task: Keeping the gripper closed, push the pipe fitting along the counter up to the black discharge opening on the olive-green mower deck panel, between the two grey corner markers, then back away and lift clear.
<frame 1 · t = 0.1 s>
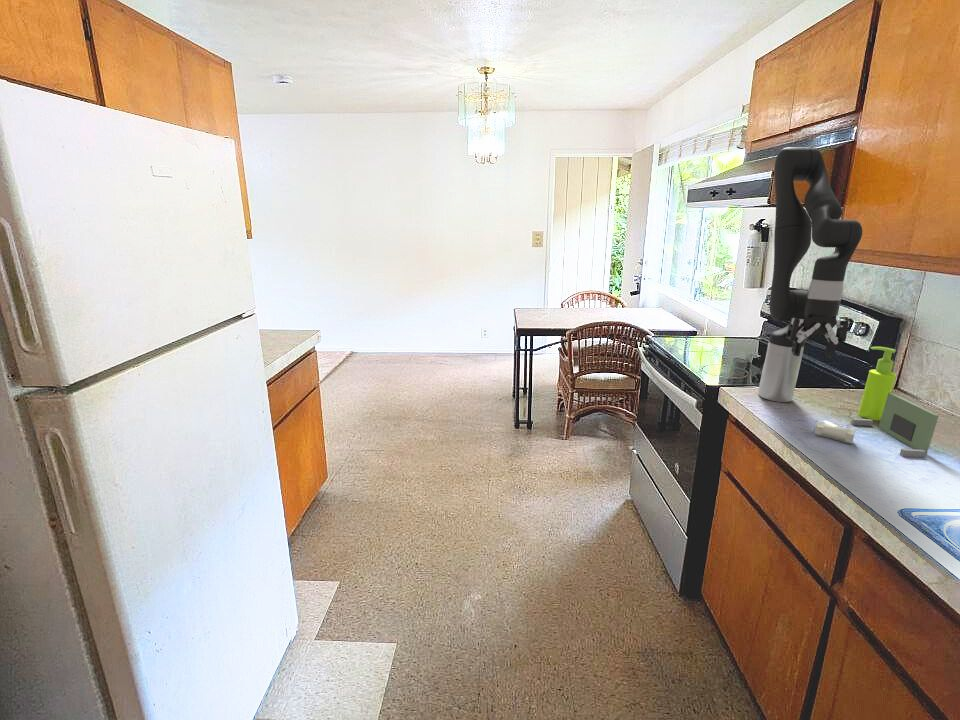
hand: (811, 356, 135), 17 cm above the table, tool pointing down, fingers open, 8 cm apart
mower deck panel: (878, 438, 126), on the table
pipe fitting: (832, 438, 126), on the table
soap dispenser: (868, 416, 141), on the table
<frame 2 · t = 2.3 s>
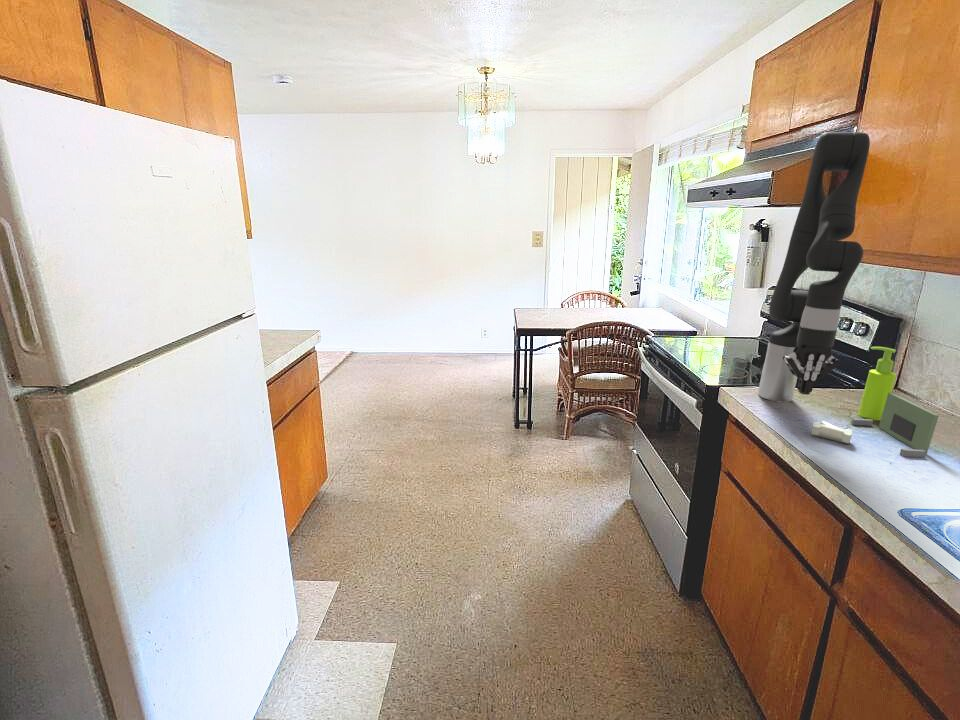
hand: (803, 393, 124), 11 cm above the table, tool pointing down, fingers closed
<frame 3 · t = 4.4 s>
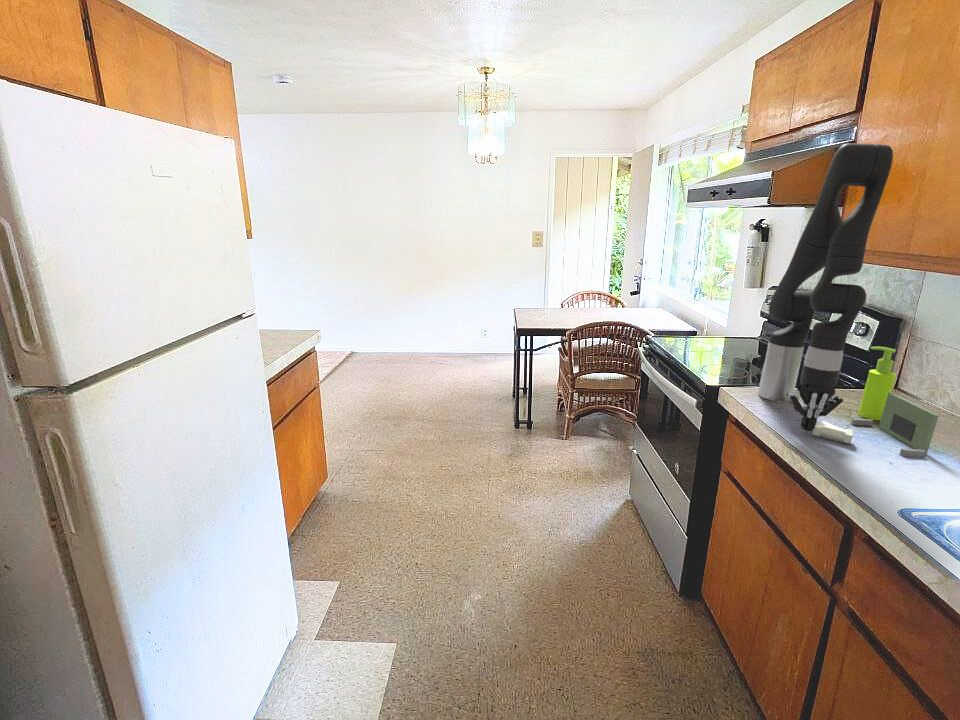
hand: (806, 429, 126), 2 cm above the table, tool pointing down, fingers closed
pipe fitting: (831, 439, 126), on the table, touching gripper
everything else where it was.
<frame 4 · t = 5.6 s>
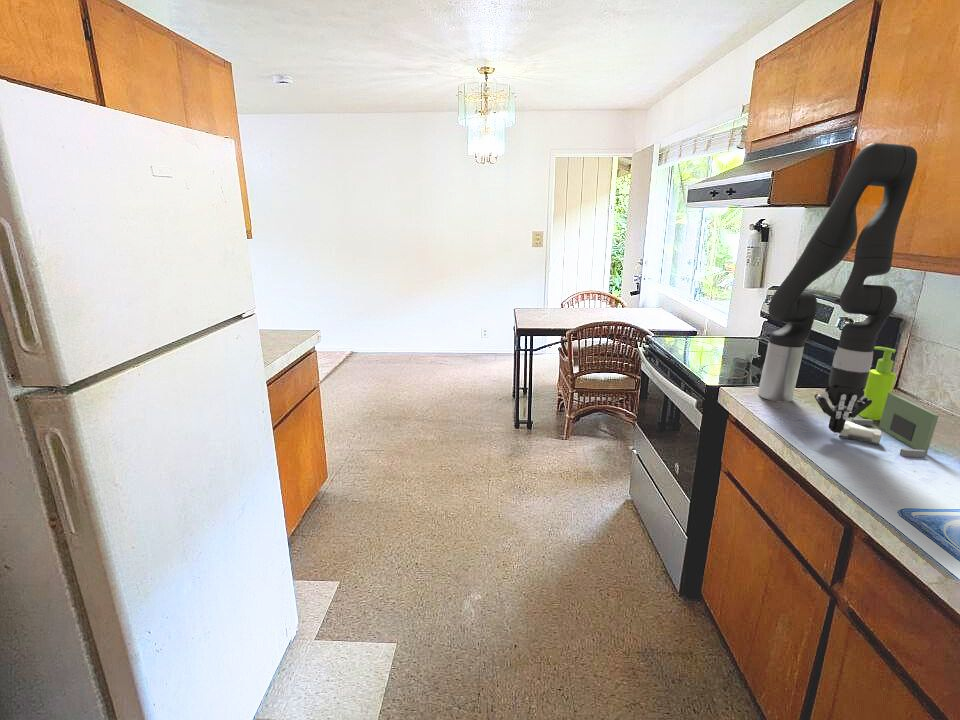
hand: (834, 431, 126), 2 cm above the table, tool pointing down, fingers closed
pipe fitting: (856, 438, 126), on the table, touching gripper
everything else where it was.
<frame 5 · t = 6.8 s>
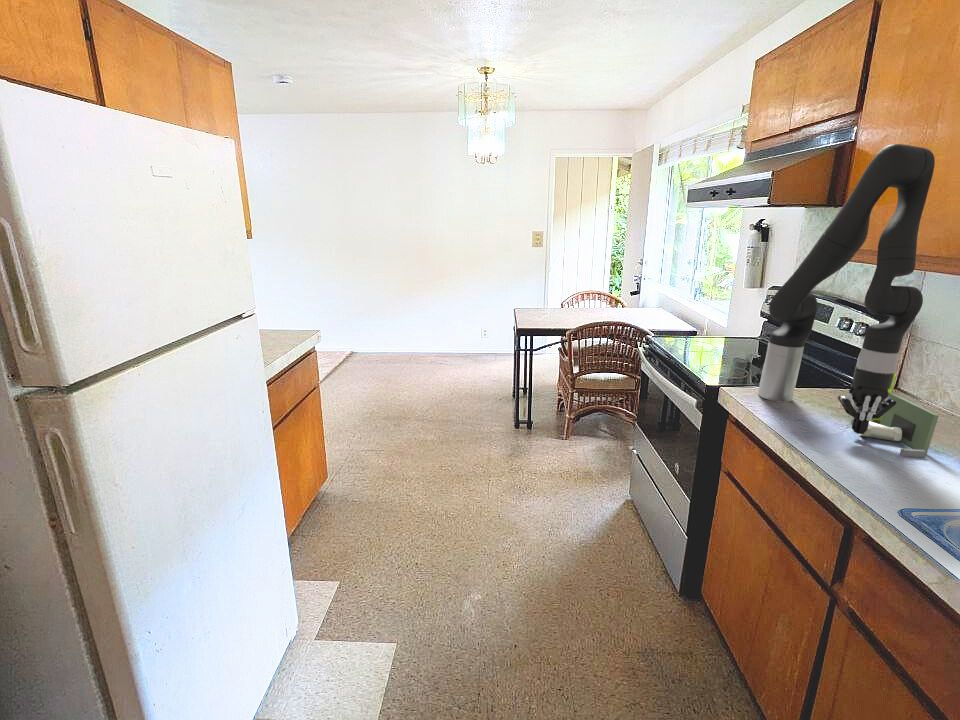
hand: (858, 432, 125), 2 cm above the table, tool pointing down, fingers closed
pipe fitting: (875, 437, 128), on the table
everything else where it was.
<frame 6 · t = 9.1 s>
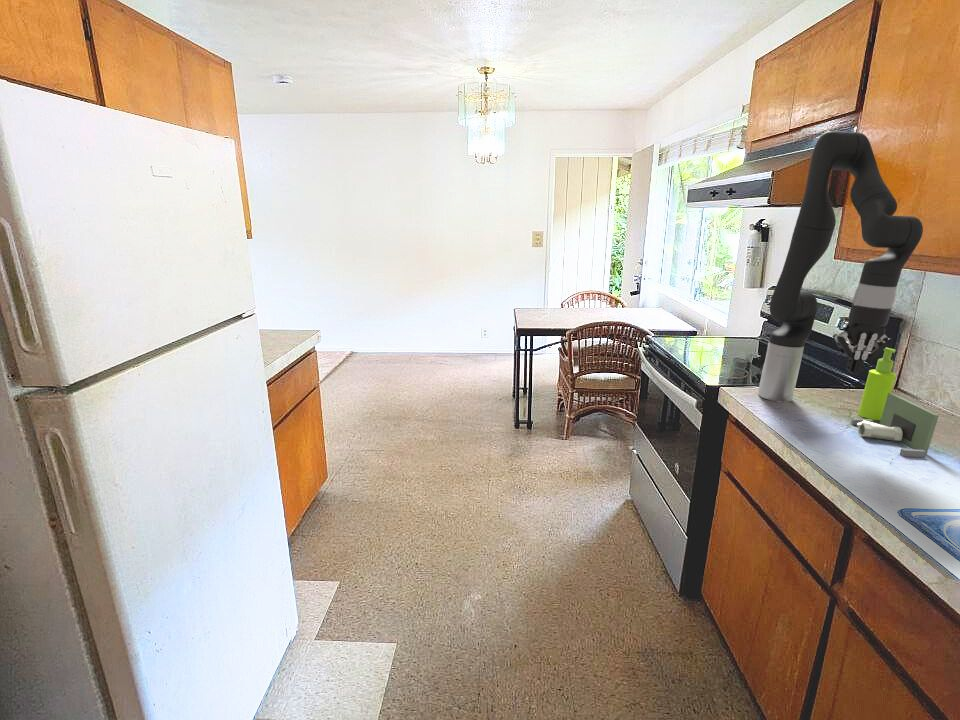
hand: (852, 373, 121), 17 cm above the table, tool pointing down, fingers closed
nothing on the table moved.
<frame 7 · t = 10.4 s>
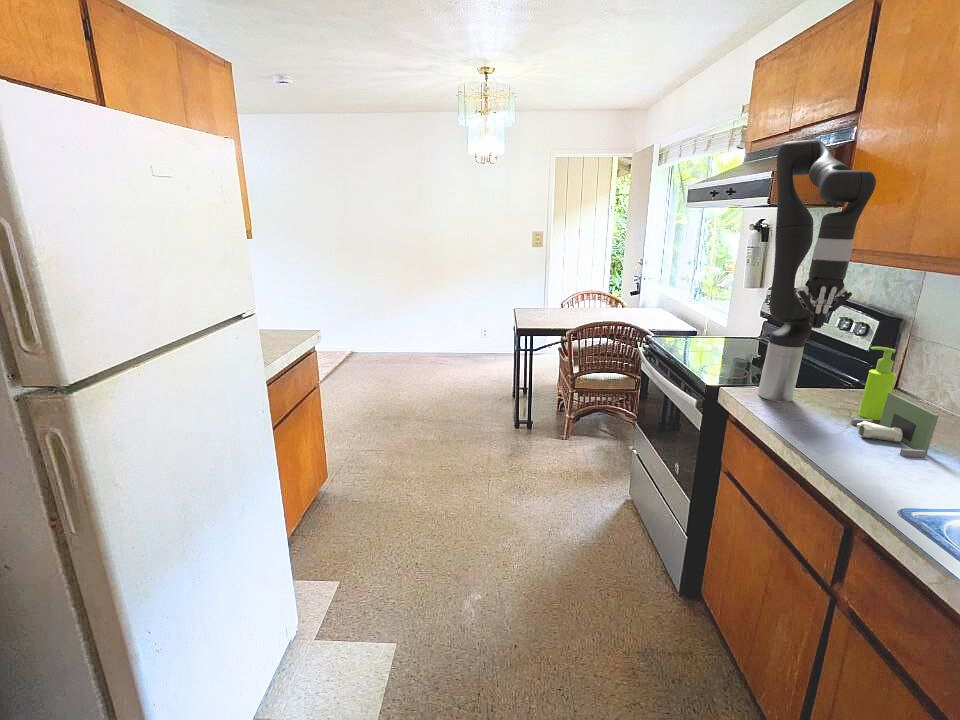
hand: (815, 327, 125), 27 cm above the table, tool pointing down, fingers closed
nothing on the table moved.
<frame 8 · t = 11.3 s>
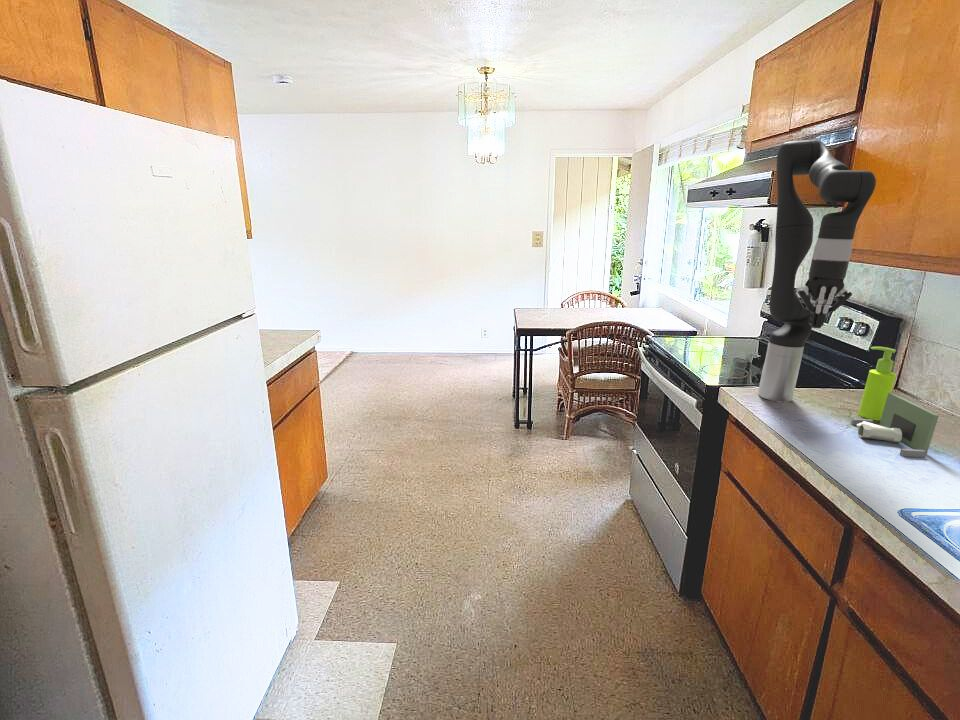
hand: (815, 327, 125), 27 cm above the table, tool pointing down, fingers closed
nothing on the table moved.
at the end: pipe fitting inside the target area (1.4 cm from its centre), on the table; pipe fitting moved 11.0 cm from its start; soap dispenser moved 0.2 cm from its start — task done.
